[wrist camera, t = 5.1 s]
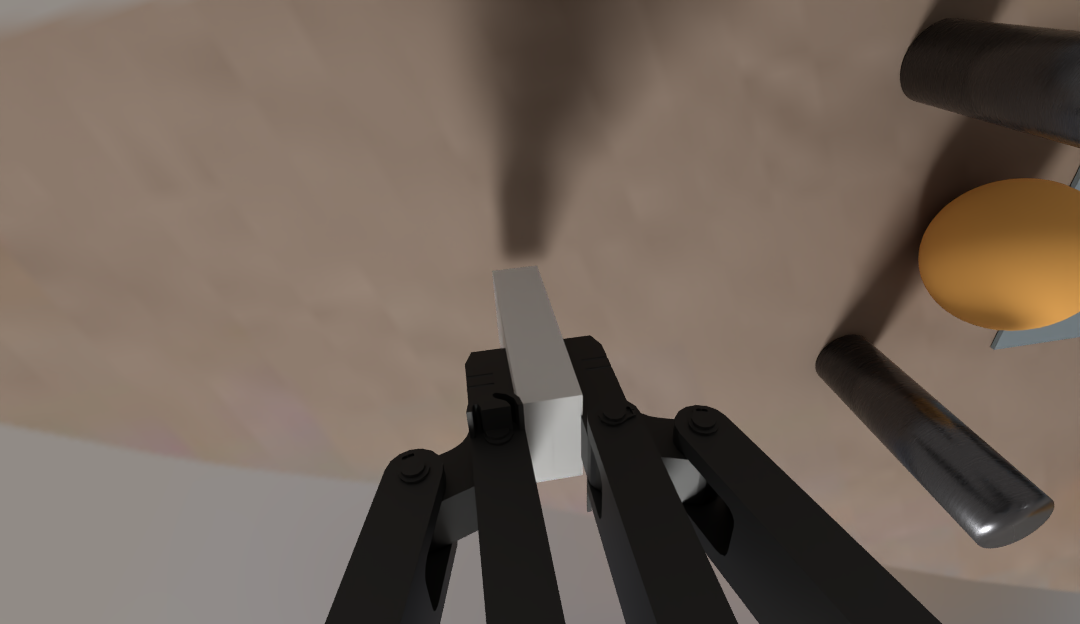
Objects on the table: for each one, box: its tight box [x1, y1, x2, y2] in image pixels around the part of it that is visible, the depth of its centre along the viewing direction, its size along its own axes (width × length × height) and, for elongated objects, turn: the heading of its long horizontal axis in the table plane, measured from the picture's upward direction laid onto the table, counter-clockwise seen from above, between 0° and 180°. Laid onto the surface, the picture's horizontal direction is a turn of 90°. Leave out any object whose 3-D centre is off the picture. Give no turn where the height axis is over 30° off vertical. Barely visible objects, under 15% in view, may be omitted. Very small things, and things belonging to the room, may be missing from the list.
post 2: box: [816, 335, 1054, 548], centre depth 22 cm, size 3×3×9 cm
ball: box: [918, 178, 1080, 331], centre depth 20 cm, size 6×6×6 cm
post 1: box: [900, 18, 1080, 148], centre depth 15 cm, size 3×3×9 cm
